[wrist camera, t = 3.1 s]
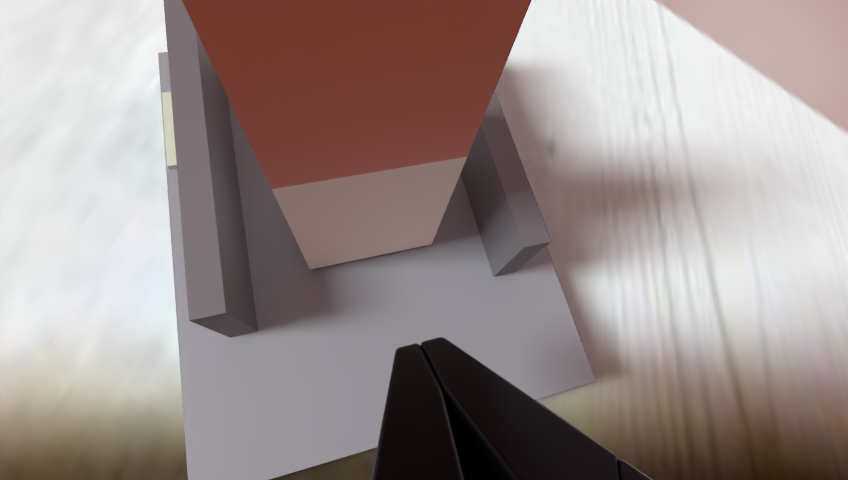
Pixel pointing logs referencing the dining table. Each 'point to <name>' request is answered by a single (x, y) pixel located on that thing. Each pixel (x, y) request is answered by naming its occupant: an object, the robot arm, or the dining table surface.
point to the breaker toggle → (359, 108)
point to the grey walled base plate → (335, 291)
